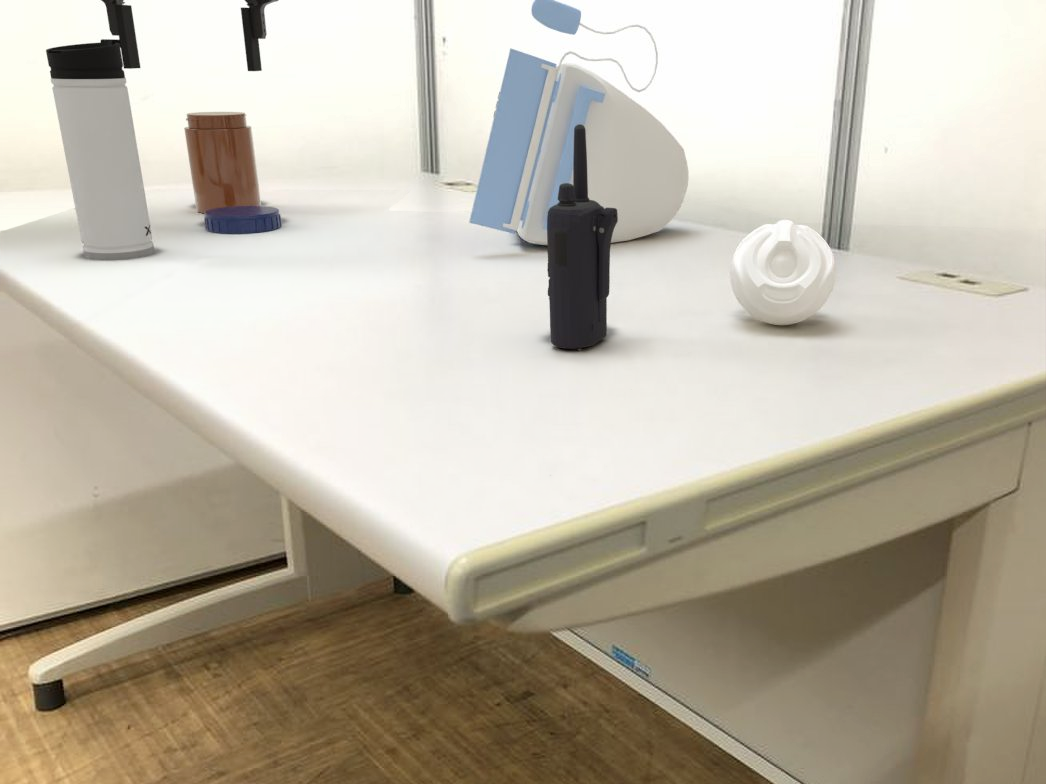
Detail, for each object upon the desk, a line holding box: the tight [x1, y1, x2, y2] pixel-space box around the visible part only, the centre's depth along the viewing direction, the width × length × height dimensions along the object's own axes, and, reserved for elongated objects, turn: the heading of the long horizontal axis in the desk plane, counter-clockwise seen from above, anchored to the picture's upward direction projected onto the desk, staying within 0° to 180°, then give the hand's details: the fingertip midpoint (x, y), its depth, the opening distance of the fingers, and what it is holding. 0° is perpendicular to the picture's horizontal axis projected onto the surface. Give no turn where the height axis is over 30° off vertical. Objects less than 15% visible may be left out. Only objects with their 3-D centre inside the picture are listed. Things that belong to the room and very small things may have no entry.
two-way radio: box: [546, 124, 618, 351], centre depth 74 cm, size 6×4×15 cm
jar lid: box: [203, 205, 282, 235], centre depth 122 cm, size 8×8×2 cm
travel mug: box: [45, 38, 155, 261], centre depth 100 cm, size 6×7×20 cm
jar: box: [183, 111, 262, 214], centre depth 132 cm, size 8×8×12 cm
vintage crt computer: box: [468, 0, 689, 246], centre depth 115 cm, size 25×23×17 cm
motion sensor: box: [729, 219, 837, 326], centre depth 81 cm, size 8×8×8 cm
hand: (193, 70), depth 119 cm, fingers open, 13 cm apart
